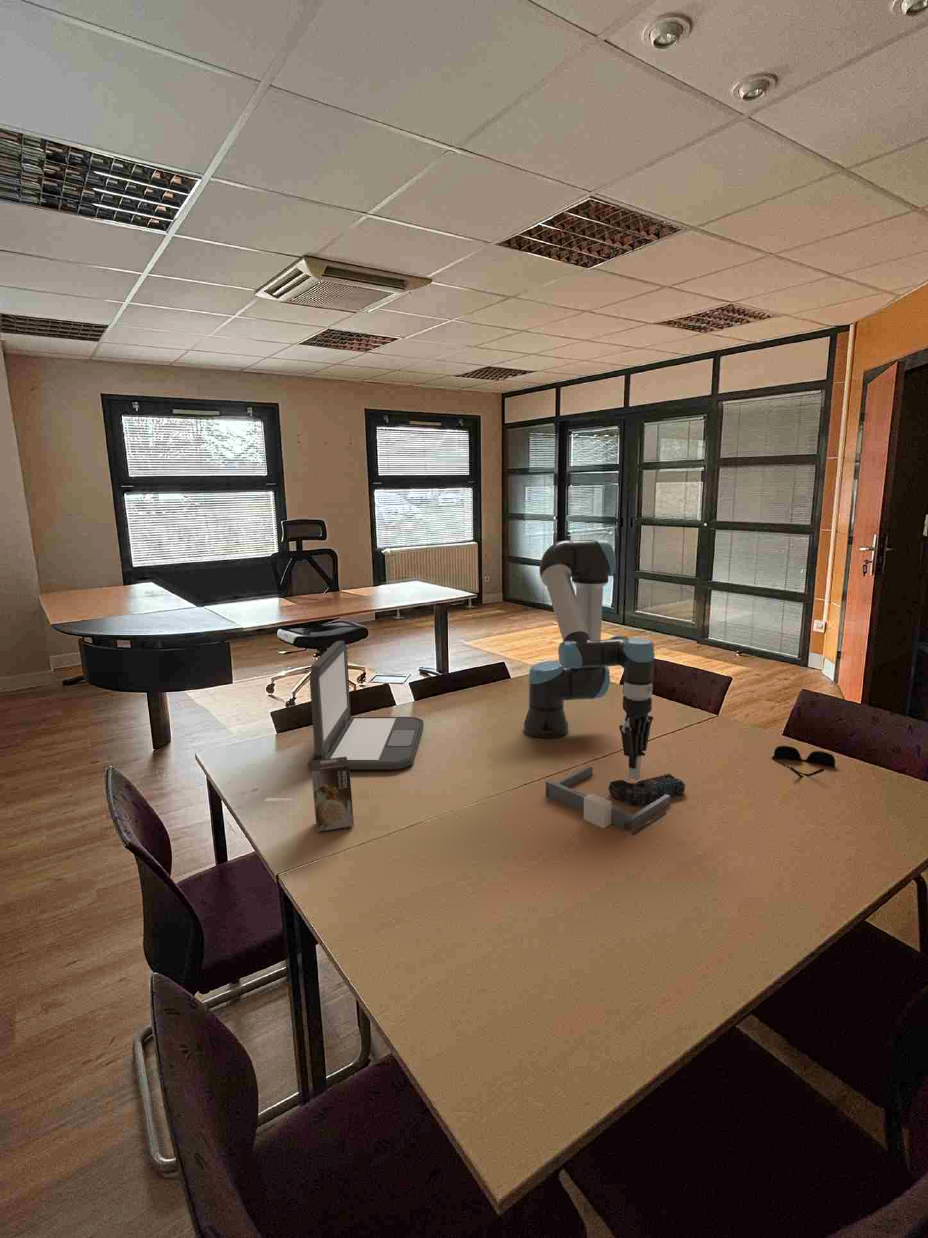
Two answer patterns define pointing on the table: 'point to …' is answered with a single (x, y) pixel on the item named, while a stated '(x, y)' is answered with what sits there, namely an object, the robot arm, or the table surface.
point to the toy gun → (646, 789)
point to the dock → (601, 804)
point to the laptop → (355, 722)
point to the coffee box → (332, 793)
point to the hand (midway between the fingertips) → (634, 777)
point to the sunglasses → (813, 757)
